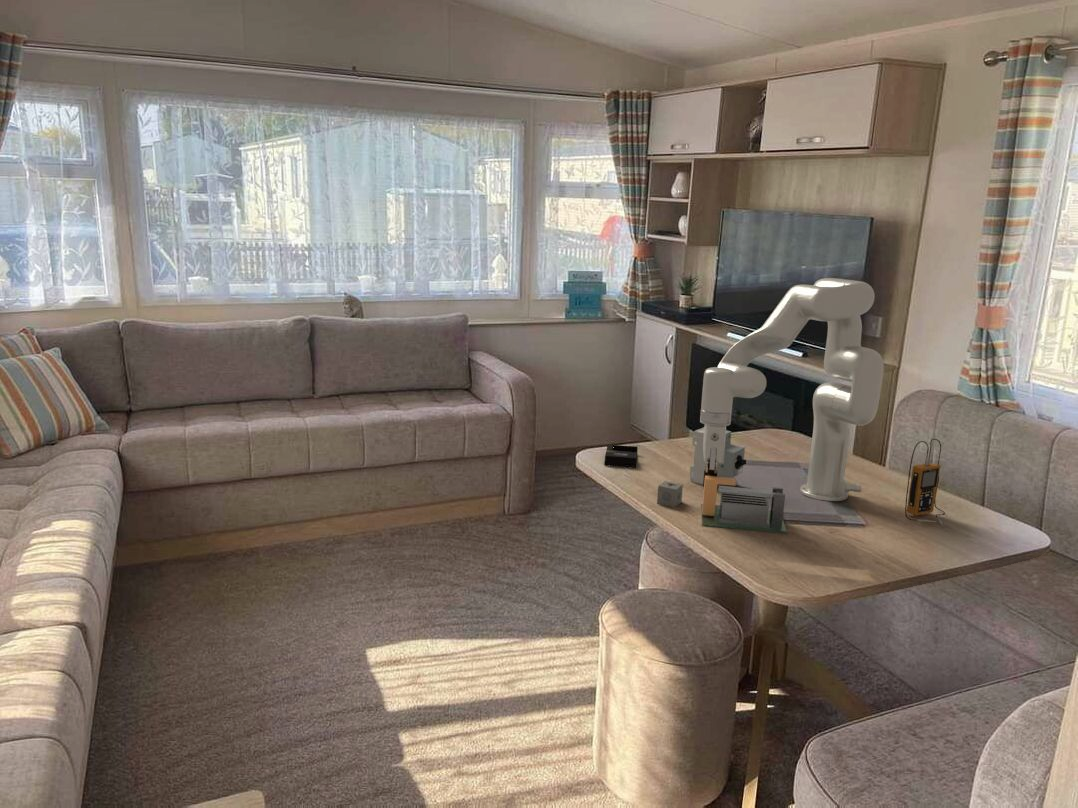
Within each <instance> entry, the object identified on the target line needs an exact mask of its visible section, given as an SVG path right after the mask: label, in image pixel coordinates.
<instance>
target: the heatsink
mask: <svg viewBox="0 0 1078 808" xmlns="http://www.w3.org/2000/svg"><path fill="white" fill-rule="evenodd" d="M771 491H772V492H777V491H779V492H780V493H775V494H774V497H771V501H770V505H769V503H768V501H767V500H768V499H767V497H764V496H755V495H746V494H737V493H728V492H720V502H719V503H720V504H715V515H714V516H709V515H702V514H701V526H705V527H715V528H725V529H734V530H735V529H736V530H745V531H756V532H766V533H775V534H788V530H787V528H786V527H787V526H786V525H785V521H784V518H783V517H784V510H785V500H786V494H785V493H784V488H783V487H777V486H776V487H774V486H772V490H771ZM702 505H703V503H701V505H700V506H701V507H700V508H701V512H702Z"/></svg>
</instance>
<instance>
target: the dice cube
mask: <svg viewBox="0 0 1078 808" xmlns="http://www.w3.org/2000/svg"><path fill="white" fill-rule="evenodd" d="M683 488H684V483H683V484H682V483H678V482H672V481H670V480H669V481H668V480H664V481H662V482H661V483H660V484H658V487H657V499H656V504H657V505H661V506H666V507H672V508H676V507H678V505H680V504H681V503H683V501H682V500H683V499H682V498H683V490H684V489H683Z"/></svg>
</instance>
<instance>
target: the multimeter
mask: <svg viewBox="0 0 1078 808" xmlns="http://www.w3.org/2000/svg"><path fill="white" fill-rule="evenodd" d="M933 440H935V441H937V442H938V443H939V454H938V458H937V459H938V460H937V464H936V463H932V462H931V452H932V441H933ZM920 443H924V444H925V445H926V446H927V451H926V454H925V459H924V463H922V464H915V465H913V466H912V463H913V458H914V454H915V451H916V448H917V446H918V444H920ZM929 447H930V448H929ZM941 451H942V443H941V441H940V440H939V439H937V438H932V439H930V446H929V444H928V443H927V442H926V441H923V440H921V441H918V442H917V443H916V445H915V446H914V448H913V452H912V456H911V457H910V463H909V471H908V477H907V478H908V479H907V487H906V497H905V506H904V507H905V508H904V515H905V517H906V519H908V520H910V521H916V522H921V523H922V522H925V523H929V522H931V523H932V522H933V523H936V522H937V521H938V522H939V523H940V524H941V525H943V522H942V521H943V520H941V519H940V517H938V516H944V515H945V514H946V512H945V511H944V510H942V509H940V508H938V507H937V505H936V497H937V491H938V485H939V482H940V469H941V465H940V457H941V453H942V452H941ZM911 469H912V471H911ZM910 477H911V479H910ZM909 485H910V486H909ZM934 507H935V509H936V510H938V511H940V512H942V514H938V513H937V514H935V518H936V519H937V521H935V520H930V519H913V518H910V517H908V515H907V513H909V514H910V515H913V516H919V515H924V514H928V513H929V514H930V513H933V512H934Z"/></svg>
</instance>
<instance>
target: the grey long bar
mask: <svg viewBox="0 0 1078 808" xmlns="http://www.w3.org/2000/svg"><path fill="white" fill-rule="evenodd" d="M717 491H718V492H720V493H721V492H722V493H733V494H744V495H755V496H764V497H766V498H772V497H774V494H775V493H780V492H779V491H777V492H772V490H765V489H764V490H763V489H754V488H746V487H738V486H737V487H736V486H730V485H719V486H718V487H717Z"/></svg>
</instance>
